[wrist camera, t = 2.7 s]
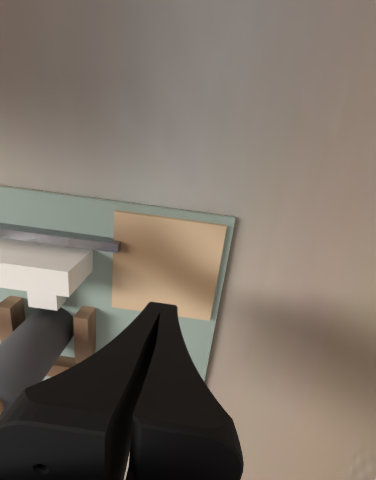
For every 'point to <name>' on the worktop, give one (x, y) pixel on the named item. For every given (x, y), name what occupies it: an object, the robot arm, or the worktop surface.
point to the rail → (59, 238)
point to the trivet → (166, 263)
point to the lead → (32, 352)
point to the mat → (107, 260)
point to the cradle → (13, 315)
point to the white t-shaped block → (43, 270)
